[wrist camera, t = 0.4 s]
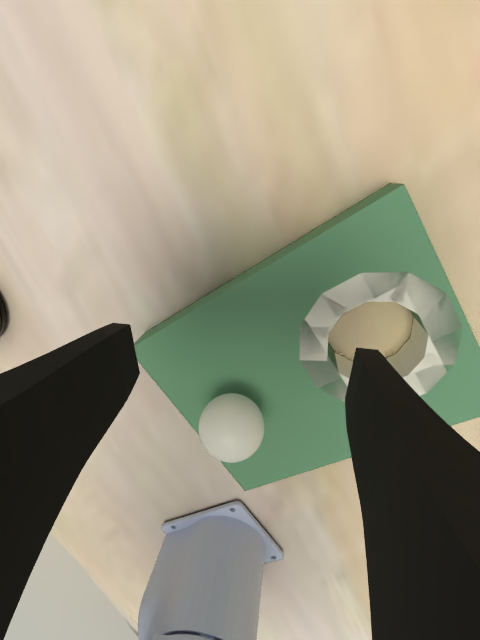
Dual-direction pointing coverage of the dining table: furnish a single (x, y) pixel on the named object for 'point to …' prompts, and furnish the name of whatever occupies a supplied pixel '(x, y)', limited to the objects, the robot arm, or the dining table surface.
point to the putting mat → (317, 336)
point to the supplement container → (2, 316)
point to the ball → (231, 427)
